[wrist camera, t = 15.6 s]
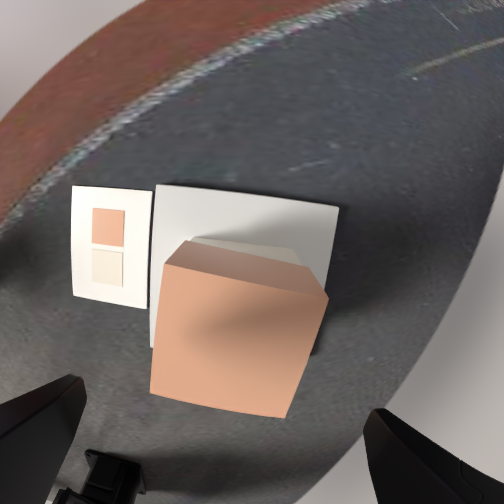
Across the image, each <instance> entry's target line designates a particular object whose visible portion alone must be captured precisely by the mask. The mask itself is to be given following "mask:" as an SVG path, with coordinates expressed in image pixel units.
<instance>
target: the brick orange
mask: <svg viewBox="0 0 504 504" xmlns="http://www.w3.org/2000/svg"><path fill="white" fill-rule="evenodd" d="M328 301H329V298H328V296H327V295H326V293H325V291H324V290H323V288H322V287H321V285H320V284H319V282H318V281H317V279H316V277H315V276H314V274H313V273H312V271H311V270H310V268H309V267H306V266H301V265H297V264H292V263H287V262H283V261H278V260H274V259H269V258H265V257H260V256H256V255H251V254H246V253H242V252H237V251H233V250H228V249H224V248H219V247H215V246H210V245H206V244H201V243H197V242H192V241H188V240H185V241H184V242H183V243H182V244H181V245H180V246H179V247H178V248H177V250H176V251H175V252H174V253H173V254H172V255H171V256H170V257H169V258H168V259H167V261H166V262H165V263H164V266H163V273H162V280H161V287H160V295H159V302H158V310H157V319H156V328H155V337H154V347H153V358H152V370H151V383H150V393H152V394H156V395H160V396H164V397H168V398H172V399H176V400H180V401H185V402H189V403H194V404H198V405H203V406H208V407H213V408H218V409H224V410H229V411H235V412H242V413H248V414H255V415H262V416H270V417H278V418H285V416H286V413H287V411H288V408H289V406H290V404H291V401H292V399H293V396H294V394H295V391H296V389H297V386H298V384H299V381H300V379H301V376H302V374H303V371H304V368H305V366H306V363H307V360H308V358H309V355H310V352H311V350H312V347H313V344H314V341H315V339H316V336H317V333H318V330H319V327H320V324H321V321H322V318H323V316H324V313H325V310H326V307H327V304H328Z"/></svg>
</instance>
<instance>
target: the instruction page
mask: <svg viewBox="0 0 504 504" xmlns="http://www.w3.org/2000/svg"><path fill="white" fill-rule="evenodd" d="M152 193H153V191H142V190H130V189H117V188H103V187H87V186H73V189H72V211H71V261H72V282H73V295H74V296H79V297H84V298H89V299H94V300H99V301H104V302H109V303H115V304H120V305H126V306H131V307H137V308H143V309H147V280H148V251H149V232H150V217H151V204H152Z"/></svg>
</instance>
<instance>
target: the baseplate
mask: <svg viewBox="0 0 504 504" xmlns="http://www.w3.org/2000/svg"><path fill="white" fill-rule="evenodd" d="M338 212H339V207H336V206H332V205H326V204H320V203H313V202H307V201H300V200H293V199H286V198H279V197H272V196H265V195H257V194H249V193H241V192H233V191H224V190H215V189H206V188H196V187H186V186H176V185H165V184H158V185H156V194H155V206H154V219H153V233H152V251H151V277H150V347H154V337H155V328H156V319H157V310H158V302H159V295H160V287H161V280H162V273H163V266H164V263H165V262H166V261H167V259H168V258H169V257H170V256H171V255H172V254H173V253H174V252H175V251H176V250H177V248H178V247H179V246H180V245H181V244H182V243H183V242H184V241H185V240H188V241H190V240H191V239H192V238H193V237H197V238H206V239H215V240H223V241H232V242H240V243H248V244H257V245H265V246H273V247H282V248H290V249H293V250H294V252H295V253H296V255H297V257H298V258H299V260H300V262H301V263H302V265H303V266H306V267H309V268H310V270H311V271H312V273H313V274H314V276H315V277H316V279H317V281H318V282H319V284H320V285H321V287H322V288H323V290H324V287H325V282H326V278H327V273H328V268H329V262H330V257H331V252H332V246H333V241H334V235H335V230H336V224H337V218H338ZM307 361H308V360H307ZM306 365H307V363H306Z"/></svg>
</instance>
